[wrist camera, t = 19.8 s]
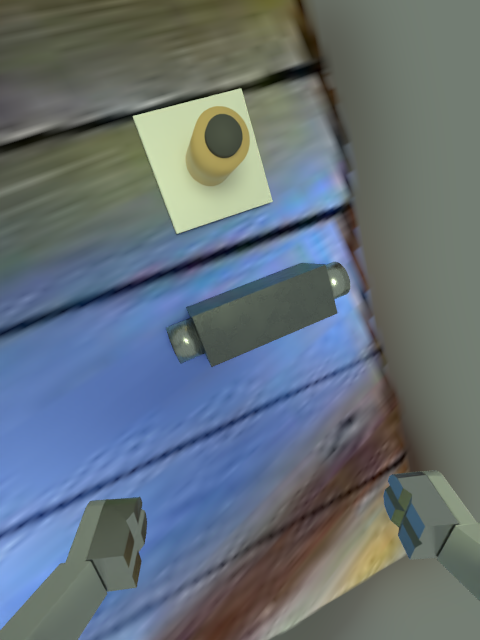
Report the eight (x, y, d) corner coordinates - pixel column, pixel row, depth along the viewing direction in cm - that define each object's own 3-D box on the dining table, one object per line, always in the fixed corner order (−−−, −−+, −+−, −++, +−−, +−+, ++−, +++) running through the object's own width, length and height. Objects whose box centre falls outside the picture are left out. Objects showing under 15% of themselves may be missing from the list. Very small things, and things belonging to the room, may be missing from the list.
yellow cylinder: (190, 188, 34) (201, 169, 26) (181, 138, 32) (189, 103, 25) (234, 183, 35) (256, 163, 27) (226, 134, 33) (247, 99, 26)
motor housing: (180, 360, 38) (184, 378, 33) (161, 316, 37) (163, 327, 31) (332, 297, 42) (359, 303, 37) (321, 255, 41) (349, 255, 35)
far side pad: (176, 234, 35) (176, 233, 34) (133, 120, 32) (132, 116, 31) (269, 202, 37) (272, 201, 36) (238, 92, 34) (241, 88, 33)
